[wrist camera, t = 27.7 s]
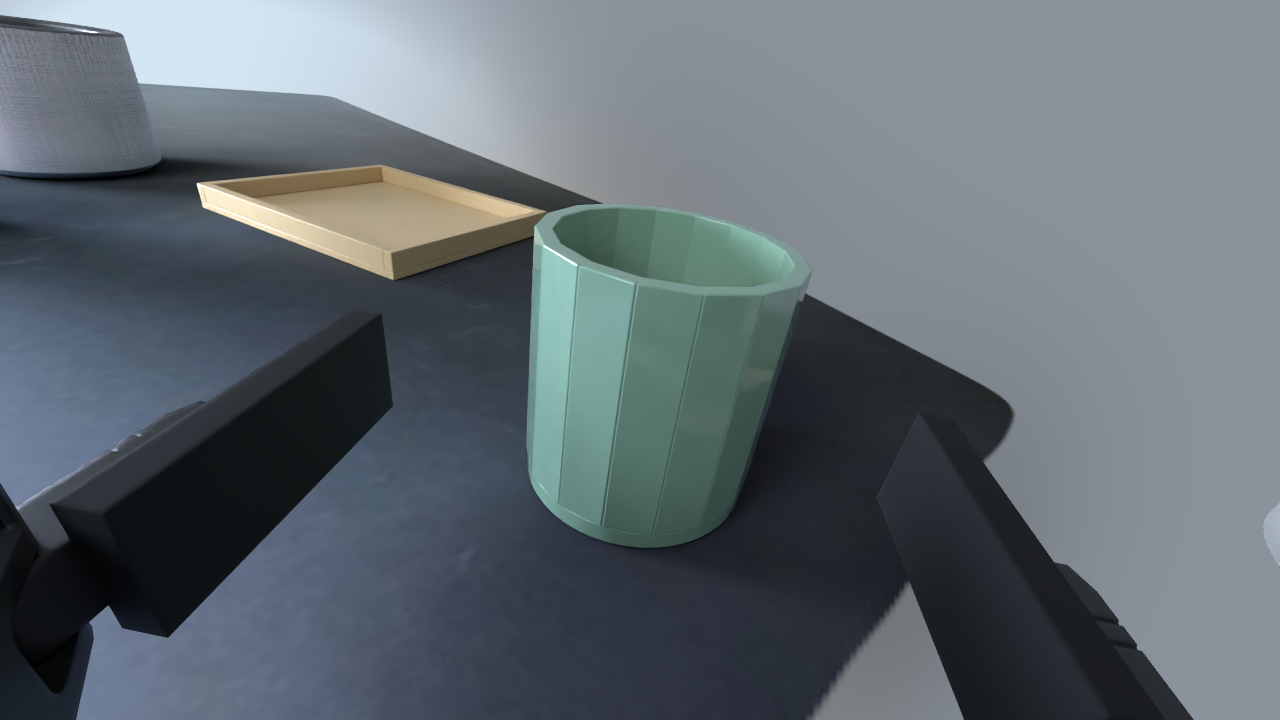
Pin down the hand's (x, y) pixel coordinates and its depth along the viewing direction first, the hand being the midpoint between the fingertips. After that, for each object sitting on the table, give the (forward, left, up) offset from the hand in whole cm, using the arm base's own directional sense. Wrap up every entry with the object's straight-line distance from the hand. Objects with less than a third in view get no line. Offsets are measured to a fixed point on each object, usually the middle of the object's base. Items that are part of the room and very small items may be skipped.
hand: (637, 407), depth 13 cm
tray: (+35, -22, -8) cm, 42 cm away
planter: (+63, -12, -8) cm, 65 cm away
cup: (+2, -6, -8) cm, 10 cm away
